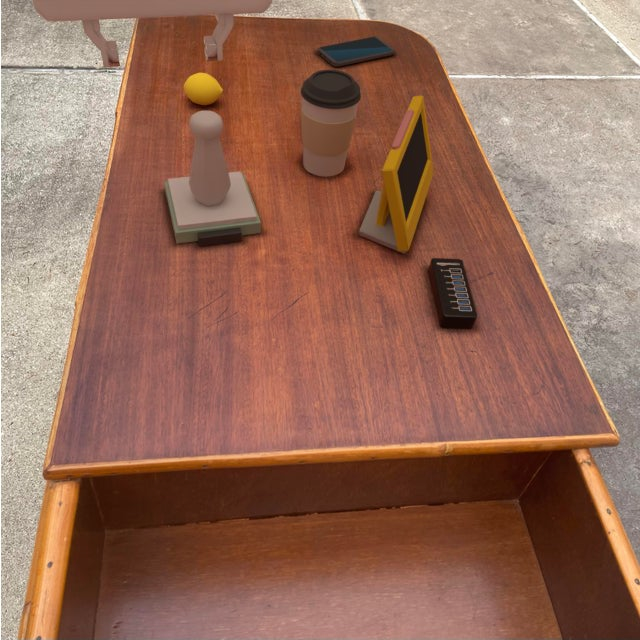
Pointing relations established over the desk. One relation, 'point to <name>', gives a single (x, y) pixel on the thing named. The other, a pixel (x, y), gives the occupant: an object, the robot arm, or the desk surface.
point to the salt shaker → (208, 159)
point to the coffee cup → (328, 120)
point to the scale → (212, 213)
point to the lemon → (202, 89)
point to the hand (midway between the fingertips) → (163, 61)
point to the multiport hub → (452, 294)
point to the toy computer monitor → (402, 183)
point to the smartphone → (355, 51)
